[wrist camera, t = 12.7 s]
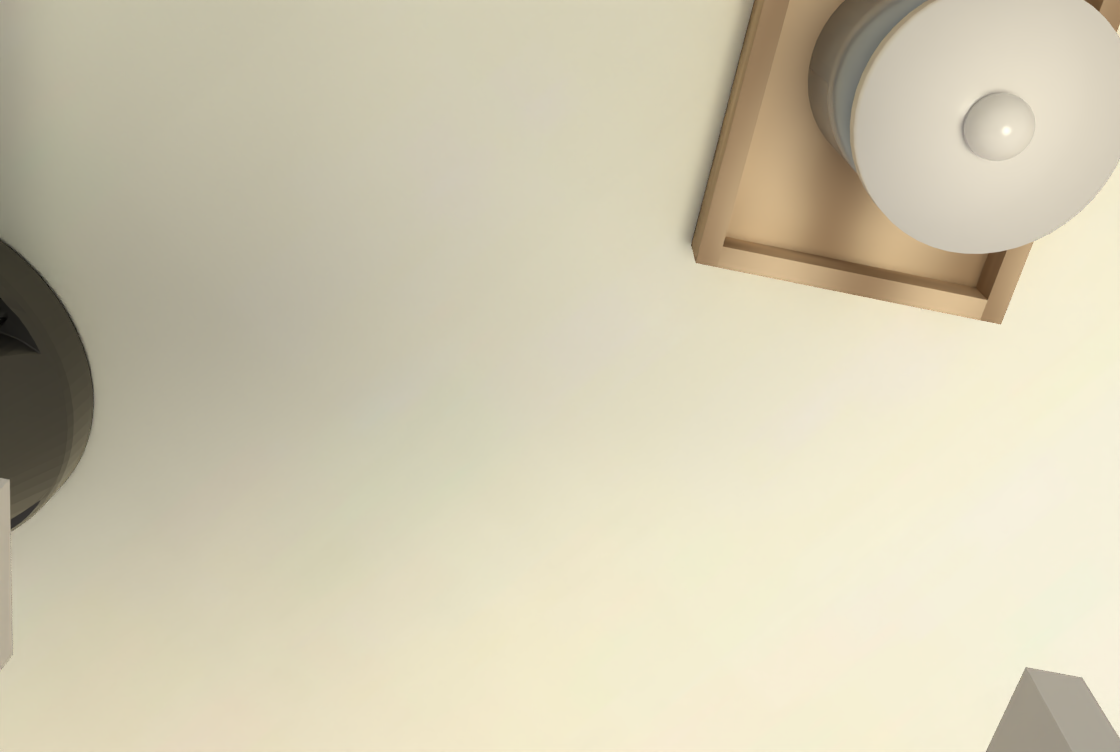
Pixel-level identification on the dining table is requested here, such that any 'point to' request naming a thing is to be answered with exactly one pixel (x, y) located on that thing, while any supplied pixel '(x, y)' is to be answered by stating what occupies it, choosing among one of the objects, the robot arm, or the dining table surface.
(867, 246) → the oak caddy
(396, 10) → the dining table surface
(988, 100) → the slate jar
